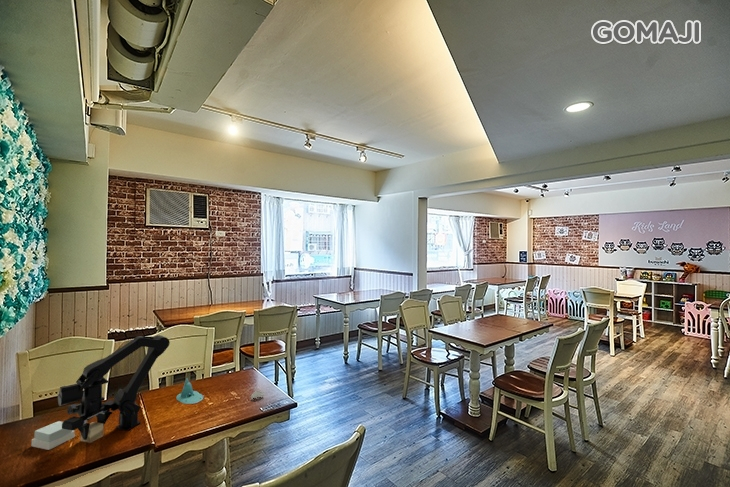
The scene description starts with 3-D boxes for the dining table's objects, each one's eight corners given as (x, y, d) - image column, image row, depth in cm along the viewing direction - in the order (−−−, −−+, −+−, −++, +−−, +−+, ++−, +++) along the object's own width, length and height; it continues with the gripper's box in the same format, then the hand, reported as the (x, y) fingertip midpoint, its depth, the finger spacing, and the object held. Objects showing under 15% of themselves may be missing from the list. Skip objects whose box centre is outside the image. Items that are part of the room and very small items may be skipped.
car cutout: (262, 395, 178) (263, 386, 178) (265, 400, 172) (265, 391, 172) (232, 401, 171) (232, 392, 171) (234, 406, 165) (234, 397, 165)
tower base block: (74, 438, 136) (74, 430, 136) (48, 451, 127) (49, 443, 127) (57, 435, 138) (58, 427, 138) (31, 447, 129) (31, 439, 129)
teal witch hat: (184, 408, 162) (184, 390, 162) (170, 395, 175) (170, 378, 176) (210, 400, 171) (210, 383, 171) (195, 388, 184) (195, 372, 184)
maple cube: (103, 436, 137) (103, 423, 137) (90, 442, 132) (90, 430, 132) (93, 434, 138) (93, 421, 138) (80, 440, 133) (80, 428, 133)
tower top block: (72, 431, 135) (72, 424, 135) (48, 442, 128) (49, 434, 128) (58, 428, 138) (58, 421, 138) (34, 438, 130) (34, 430, 130)
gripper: (100, 385, 146) (99, 421, 146) (51, 404, 128) (50, 445, 128) (121, 388, 144) (120, 425, 143) (73, 408, 126) (72, 450, 125)
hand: (92, 435), depth 135 cm, fingers closed on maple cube, 5 cm apart
